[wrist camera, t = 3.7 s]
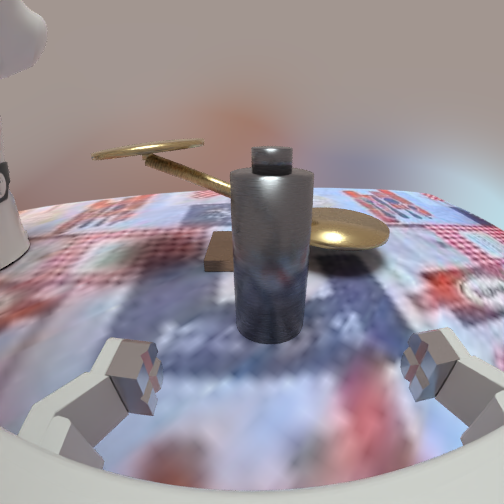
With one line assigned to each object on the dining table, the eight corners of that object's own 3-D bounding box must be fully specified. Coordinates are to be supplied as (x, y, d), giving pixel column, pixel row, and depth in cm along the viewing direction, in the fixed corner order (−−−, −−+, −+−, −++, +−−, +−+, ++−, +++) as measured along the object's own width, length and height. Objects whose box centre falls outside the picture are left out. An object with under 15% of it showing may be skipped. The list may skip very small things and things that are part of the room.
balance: (92, 279, 27) (69, 159, 22) (131, 236, 38) (120, 146, 33) (401, 276, 27) (420, 152, 22) (363, 233, 38) (371, 141, 32)
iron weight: (234, 344, 19) (225, 152, 14) (237, 303, 24) (232, 145, 19) (307, 342, 19) (323, 152, 14) (298, 302, 24) (306, 145, 19)
